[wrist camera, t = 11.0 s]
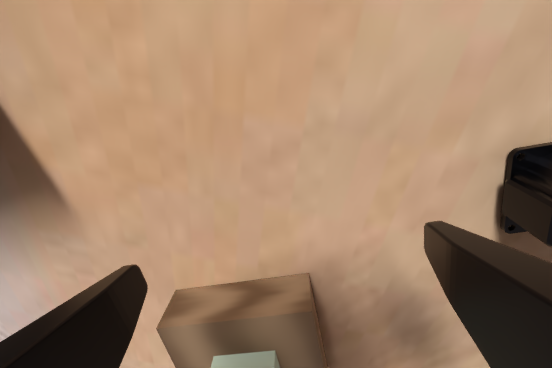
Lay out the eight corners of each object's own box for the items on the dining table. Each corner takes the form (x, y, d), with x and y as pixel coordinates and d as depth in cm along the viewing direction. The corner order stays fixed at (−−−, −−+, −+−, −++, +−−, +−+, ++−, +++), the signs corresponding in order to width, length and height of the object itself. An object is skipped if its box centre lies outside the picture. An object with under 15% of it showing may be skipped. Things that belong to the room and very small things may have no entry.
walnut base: (308, 273, 24) (312, 311, 20) (327, 367, 28) (332, 412, 25) (175, 290, 25) (156, 328, 22) (213, 377, 30) (202, 421, 26)
